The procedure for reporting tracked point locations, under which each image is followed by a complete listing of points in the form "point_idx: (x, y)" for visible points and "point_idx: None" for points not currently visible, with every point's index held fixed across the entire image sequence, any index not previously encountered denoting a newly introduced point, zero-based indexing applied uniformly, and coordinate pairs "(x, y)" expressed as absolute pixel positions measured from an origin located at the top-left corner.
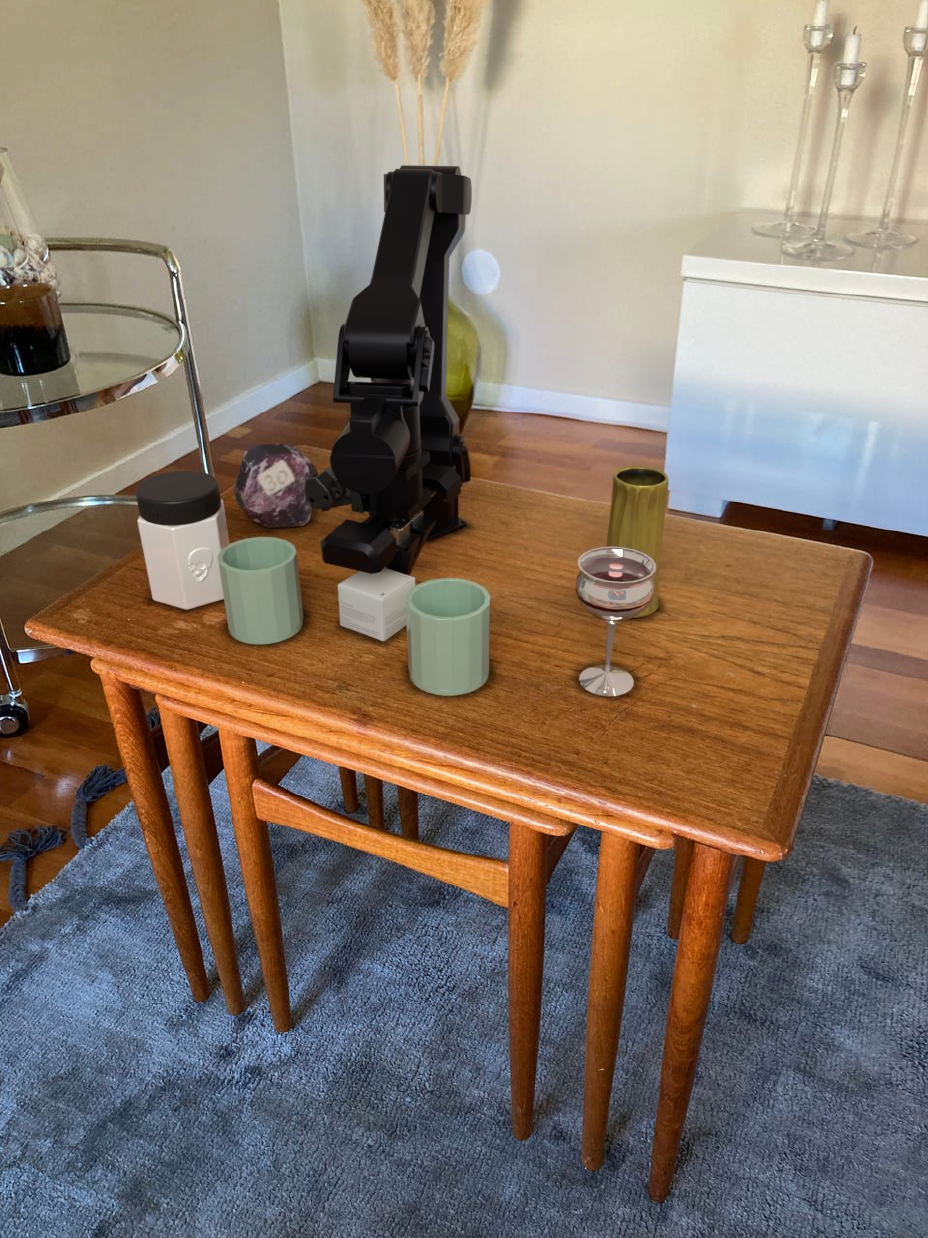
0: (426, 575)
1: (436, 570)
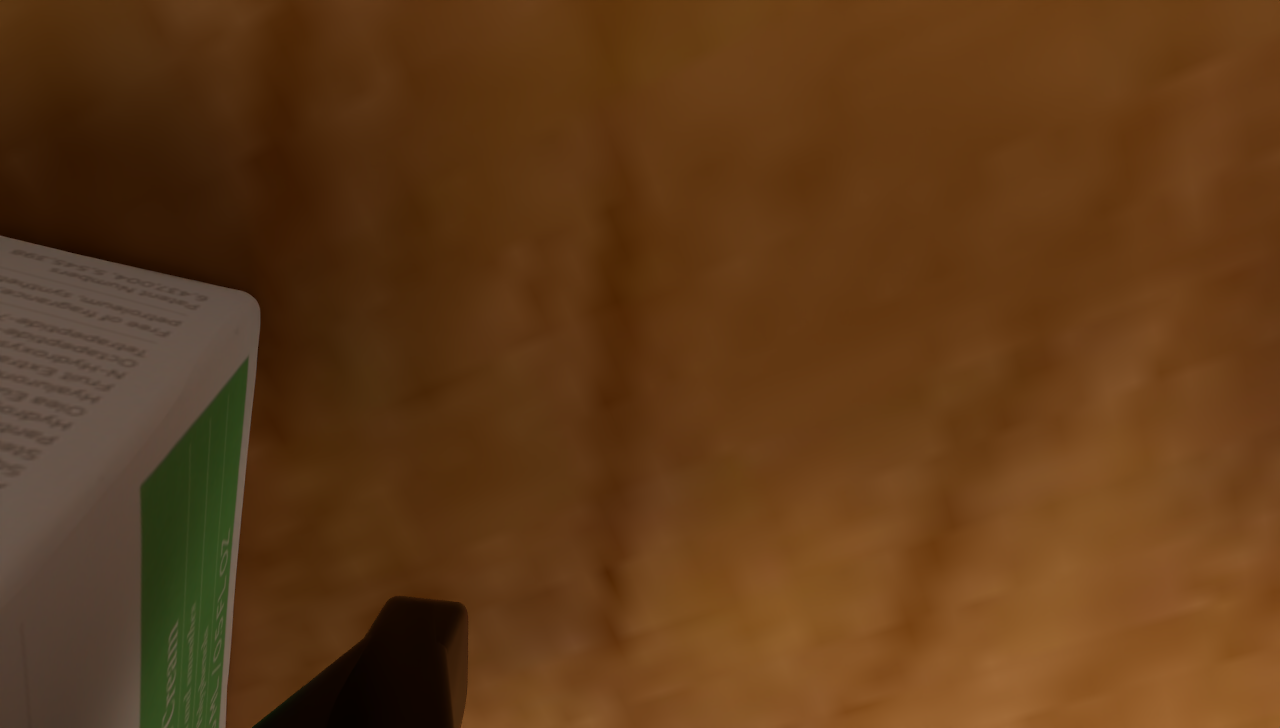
0: (1115, 563)
1: (1251, 615)
